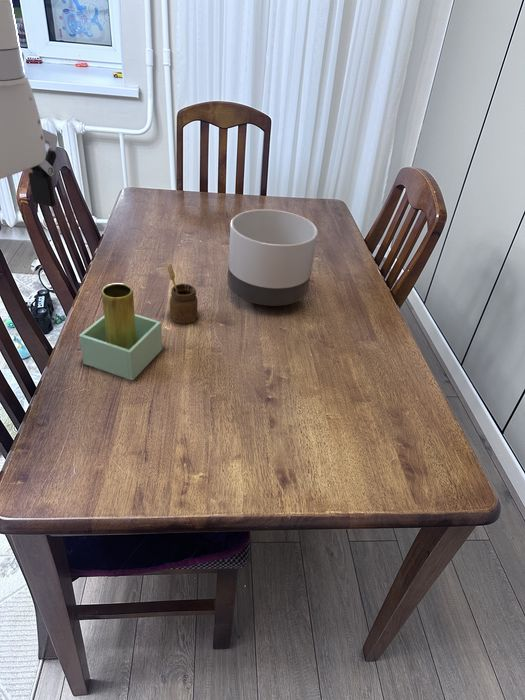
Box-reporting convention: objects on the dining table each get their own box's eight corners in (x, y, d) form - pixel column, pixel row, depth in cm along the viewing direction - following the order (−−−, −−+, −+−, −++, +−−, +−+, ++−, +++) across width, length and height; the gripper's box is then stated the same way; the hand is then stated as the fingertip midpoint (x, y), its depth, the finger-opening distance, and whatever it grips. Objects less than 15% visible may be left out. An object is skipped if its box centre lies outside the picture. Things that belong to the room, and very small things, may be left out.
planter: (321, 307, 115) (335, 238, 105) (250, 324, 107) (257, 251, 96) (280, 270, 128) (288, 205, 118) (213, 282, 120) (216, 213, 109)
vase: (136, 365, 92) (130, 300, 83) (103, 362, 91) (94, 297, 83) (142, 345, 96) (138, 283, 88) (111, 343, 96) (104, 280, 88)
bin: (83, 363, 92) (78, 335, 88) (116, 334, 100) (113, 307, 96) (132, 380, 89) (130, 352, 85) (162, 349, 97) (161, 322, 93)
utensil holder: (190, 327, 104) (190, 278, 97) (163, 320, 105) (162, 270, 98) (201, 313, 109) (202, 265, 101) (176, 306, 110) (175, 258, 103)
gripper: (16, 53, 60) (41, 190, 70) (-117, 67, 47) (-62, 233, 57) (67, 62, 58) (85, 201, 69) (-56, 80, 45) (-11, 248, 56)
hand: (18, 216), depth 63 cm, fingers open, 9 cm apart
